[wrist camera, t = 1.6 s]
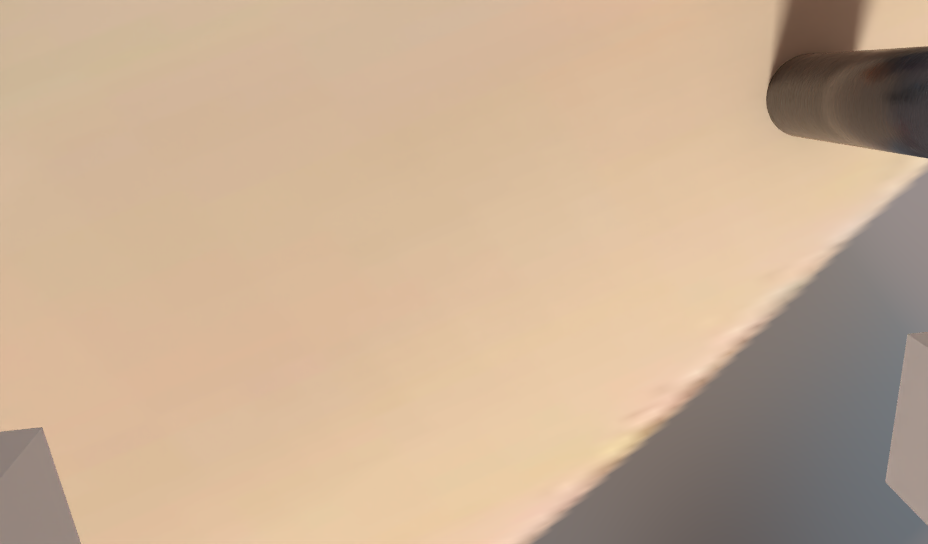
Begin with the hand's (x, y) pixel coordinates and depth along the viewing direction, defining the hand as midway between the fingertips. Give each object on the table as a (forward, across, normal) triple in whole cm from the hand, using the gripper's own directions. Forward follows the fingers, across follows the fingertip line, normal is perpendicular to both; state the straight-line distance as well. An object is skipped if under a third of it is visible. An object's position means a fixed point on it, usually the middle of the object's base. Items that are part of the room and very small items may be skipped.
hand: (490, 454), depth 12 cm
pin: (+26, +19, 0) cm, 32 cm away
